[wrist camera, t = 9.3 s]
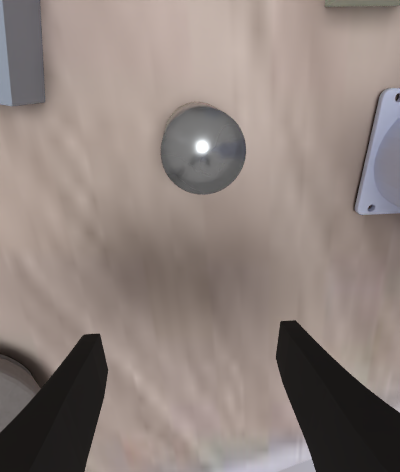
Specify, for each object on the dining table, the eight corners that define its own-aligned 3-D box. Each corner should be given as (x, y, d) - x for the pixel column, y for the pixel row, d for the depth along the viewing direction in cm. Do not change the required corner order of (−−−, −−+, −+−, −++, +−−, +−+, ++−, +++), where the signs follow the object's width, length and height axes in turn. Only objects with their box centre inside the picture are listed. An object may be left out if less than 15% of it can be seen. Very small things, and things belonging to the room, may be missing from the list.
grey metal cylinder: (229, 101, 18) (248, 106, 13) (228, 168, 20) (243, 192, 15) (162, 103, 18) (157, 108, 13) (166, 170, 19) (164, 196, 15)
